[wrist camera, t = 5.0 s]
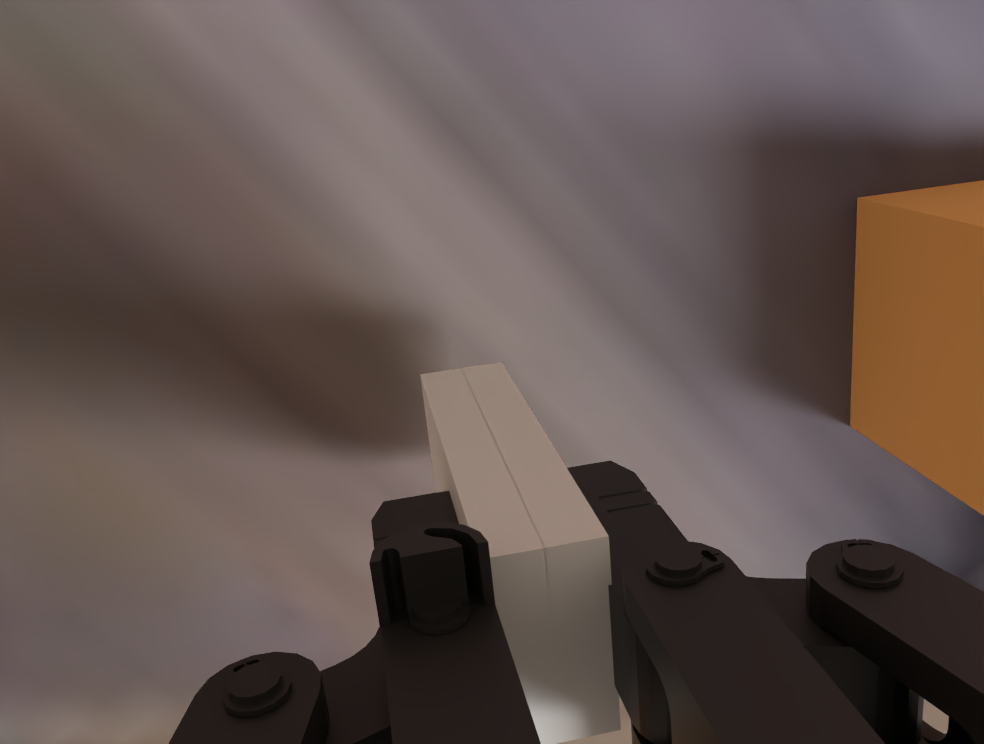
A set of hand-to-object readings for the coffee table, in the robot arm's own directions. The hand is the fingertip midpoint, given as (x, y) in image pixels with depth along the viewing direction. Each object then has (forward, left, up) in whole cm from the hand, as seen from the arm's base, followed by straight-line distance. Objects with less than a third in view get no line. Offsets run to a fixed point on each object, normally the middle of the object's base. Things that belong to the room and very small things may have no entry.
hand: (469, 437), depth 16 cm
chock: (+11, +1, -2) cm, 11 cm away
